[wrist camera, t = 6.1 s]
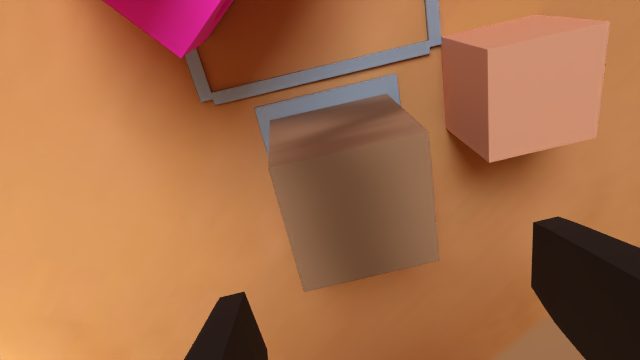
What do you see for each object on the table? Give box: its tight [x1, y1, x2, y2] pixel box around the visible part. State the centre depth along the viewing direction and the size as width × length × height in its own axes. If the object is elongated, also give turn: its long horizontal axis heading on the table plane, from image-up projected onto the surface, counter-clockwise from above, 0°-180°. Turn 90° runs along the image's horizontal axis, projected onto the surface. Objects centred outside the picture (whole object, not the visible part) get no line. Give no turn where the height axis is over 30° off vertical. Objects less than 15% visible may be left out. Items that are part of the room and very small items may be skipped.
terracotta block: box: [441, 15, 610, 163], centre depth 15 cm, size 4×4×4 cm
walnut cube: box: [269, 94, 439, 292], centre depth 15 cm, size 5×5×5 cm
